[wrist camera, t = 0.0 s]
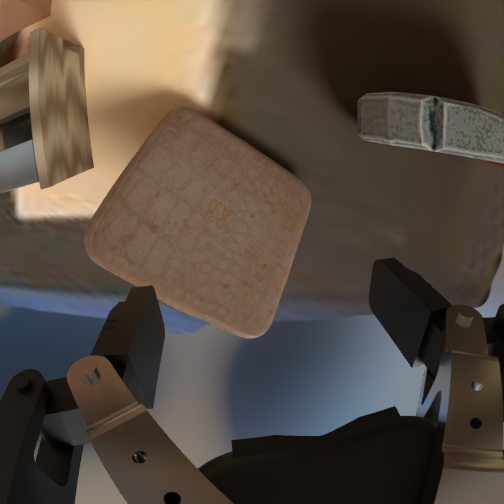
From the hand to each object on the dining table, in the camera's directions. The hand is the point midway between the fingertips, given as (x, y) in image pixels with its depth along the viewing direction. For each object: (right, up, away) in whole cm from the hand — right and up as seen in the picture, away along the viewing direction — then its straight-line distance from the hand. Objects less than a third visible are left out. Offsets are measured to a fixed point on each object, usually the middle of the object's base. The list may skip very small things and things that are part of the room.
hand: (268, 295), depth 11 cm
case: (-7, +7, +29) cm, 30 cm away
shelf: (-30, +20, +20) cm, 41 cm away
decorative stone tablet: (+25, +20, +26) cm, 42 cm away
